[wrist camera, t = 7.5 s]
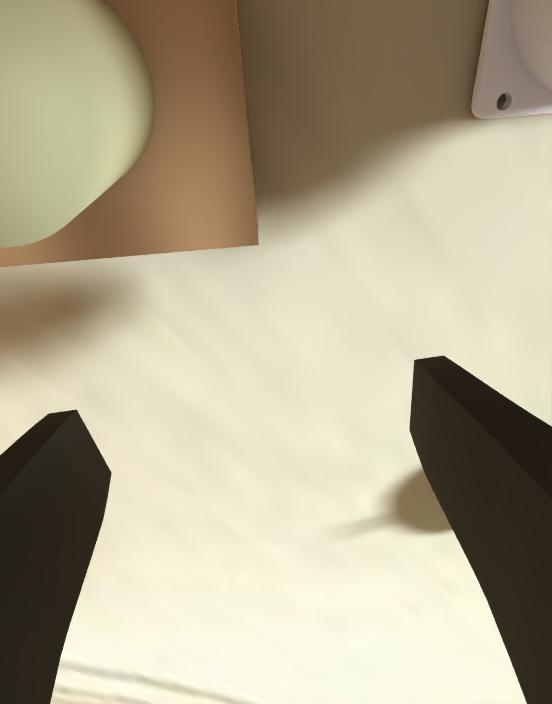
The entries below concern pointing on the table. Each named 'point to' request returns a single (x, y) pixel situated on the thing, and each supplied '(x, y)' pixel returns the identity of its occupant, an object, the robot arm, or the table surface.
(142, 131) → the sage cylinder
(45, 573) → the robot arm
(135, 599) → the table surface
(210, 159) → the walnut base
